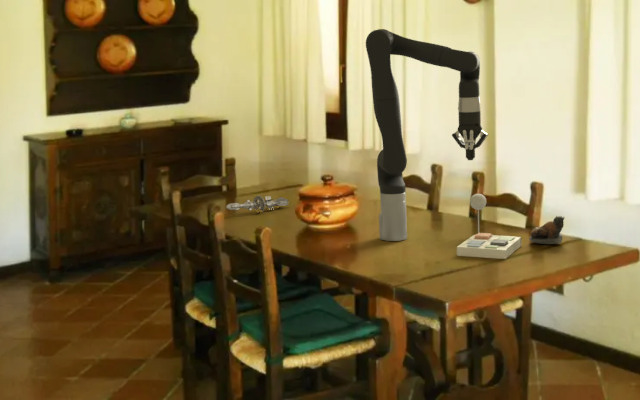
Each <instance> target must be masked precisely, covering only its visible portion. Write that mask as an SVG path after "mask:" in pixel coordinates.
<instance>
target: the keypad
mask: <svg viewBox="0 0 640 400" xmlns="http://www.w3.org/2000/svg"><path fill="white" fill-rule="evenodd" d="M476 234H477V233H475V234H473V235H471V237H469V238H467V239H466V240H465V241H463V242H462V243H460V244H458V246H456V256H458V257H470V258H471V257H472V258H486V259H498V260H500V259H501V260H506V259H508V258H509V257H510V255H512V254H513V253H515V252H516V250H518V249H520V247H521V246H522V236H512V235H500V234H499V235H497V234H495V235H494V234H492V237H491V238H490V239H489V240H487V239H475V235H476ZM500 237H514V239H513V240H512V241H508V244H507V245H506V246H495V245H490V242H491V241H493V240H494V239H499V238H500ZM471 240H475V241H485V243H483V244H482V245H480V244H467V243H468V242H470V241H471Z"/></svg>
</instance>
